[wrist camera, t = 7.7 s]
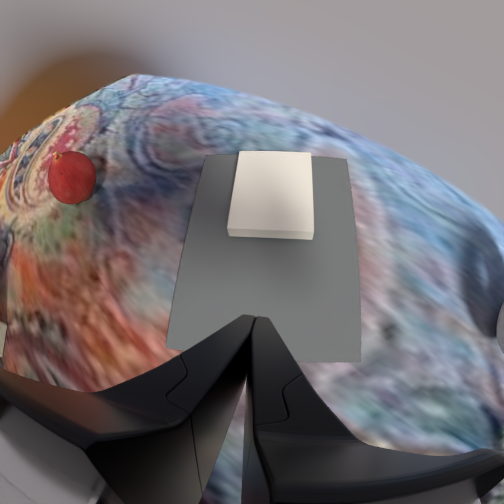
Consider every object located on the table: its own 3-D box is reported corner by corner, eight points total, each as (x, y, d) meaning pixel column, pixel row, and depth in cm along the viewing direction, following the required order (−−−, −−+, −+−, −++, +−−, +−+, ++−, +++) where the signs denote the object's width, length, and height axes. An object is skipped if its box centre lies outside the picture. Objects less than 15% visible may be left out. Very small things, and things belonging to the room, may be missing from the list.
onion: (63, 220, 28) (25, 180, 21) (76, 183, 31) (45, 141, 23) (100, 213, 28) (62, 167, 21) (112, 174, 30) (82, 127, 23)
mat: (359, 361, 19) (360, 361, 19) (167, 348, 21) (165, 347, 21) (345, 161, 28) (346, 159, 28) (206, 157, 30) (206, 155, 29)
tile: (314, 232, 22) (310, 152, 26) (226, 228, 23) (239, 151, 27) (311, 241, 24) (309, 163, 28) (229, 237, 24) (241, 161, 28)
